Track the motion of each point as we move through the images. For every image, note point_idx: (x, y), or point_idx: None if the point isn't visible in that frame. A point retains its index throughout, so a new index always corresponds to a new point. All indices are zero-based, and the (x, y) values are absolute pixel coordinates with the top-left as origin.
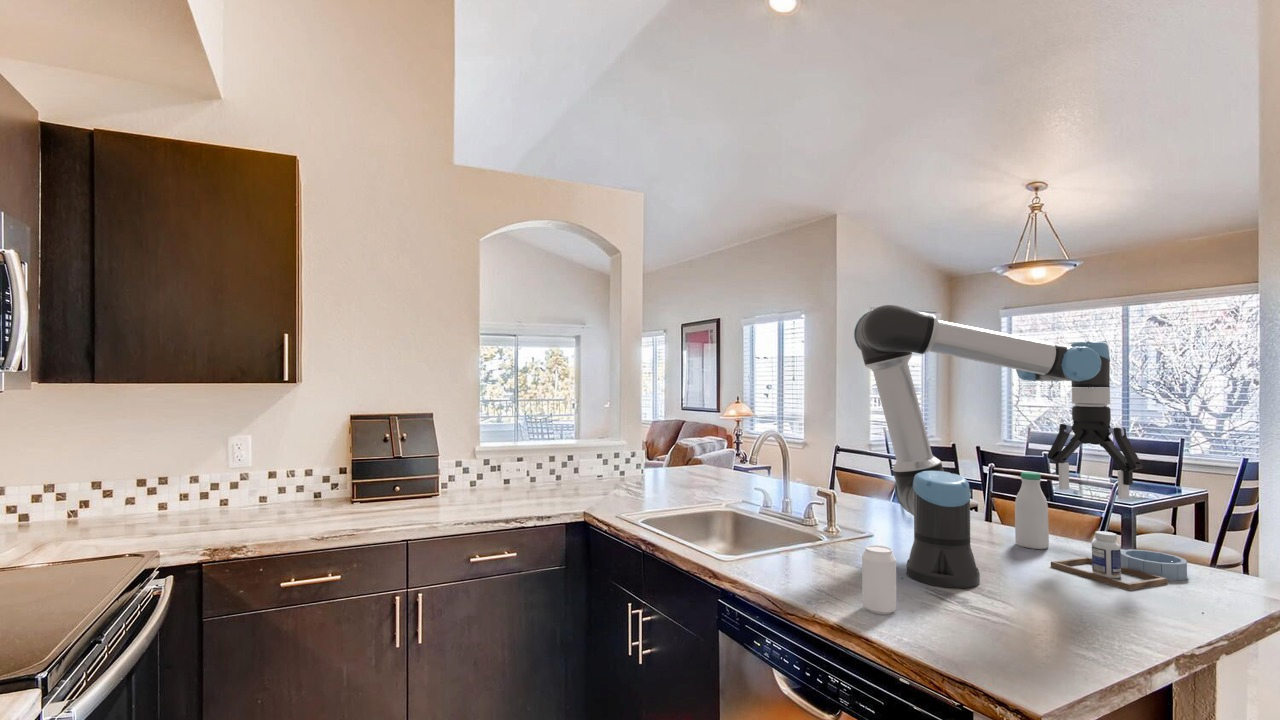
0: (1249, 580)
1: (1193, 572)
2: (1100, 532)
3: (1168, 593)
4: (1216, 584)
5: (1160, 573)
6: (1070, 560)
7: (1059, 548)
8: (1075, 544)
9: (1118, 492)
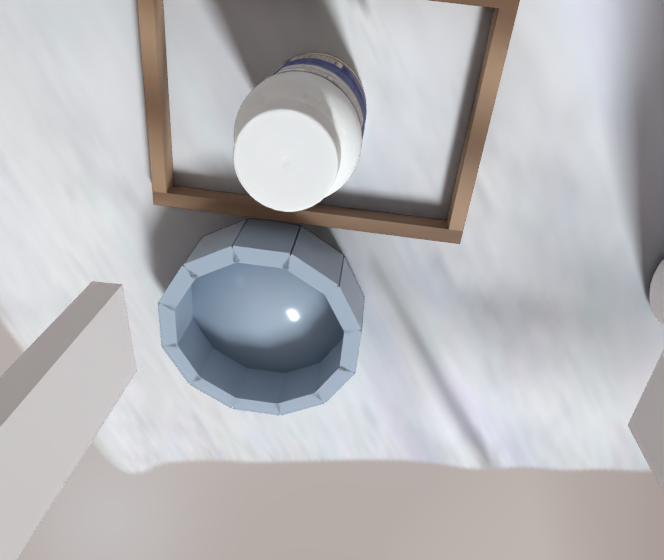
0: (124, 433)
1: None
2: (305, 147)
3: (79, 69)
4: None
5: (199, 245)
6: (473, 118)
7: (613, 337)
8: (592, 433)
9: (90, 318)
